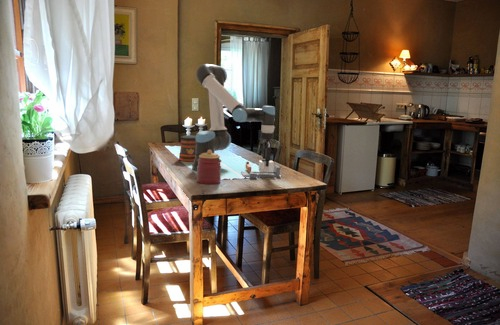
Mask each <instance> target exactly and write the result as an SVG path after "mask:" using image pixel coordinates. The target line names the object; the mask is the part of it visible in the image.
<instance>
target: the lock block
mask: <svg viewBox="0 0 500 325" xmlns="http://www.w3.org/2000/svg"><path fill="white" fill-rule="evenodd" d="M264 165H265V161H264V160H263V159H261V160H258V172H264ZM274 165H275V162H274V161H273V160H270V161H269V172H273V170H274Z"/></svg>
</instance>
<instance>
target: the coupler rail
mask: <svg viewBox="0 0 500 325" xmlns="http://www.w3.org/2000/svg"><path fill="white" fill-rule="evenodd" d="M240 173H241V175H242V177H249V179H253V180H257V178H259V177H260V178H261V177H263V178H267V177H268V178H269V177H270V178H280V176H281V167H280V165H278V164H274V170H273V172H260V171H251V172H248V171H241V172H240Z"/></svg>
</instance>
